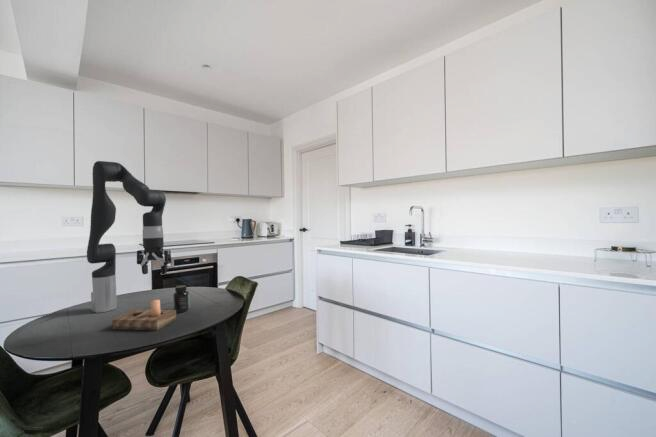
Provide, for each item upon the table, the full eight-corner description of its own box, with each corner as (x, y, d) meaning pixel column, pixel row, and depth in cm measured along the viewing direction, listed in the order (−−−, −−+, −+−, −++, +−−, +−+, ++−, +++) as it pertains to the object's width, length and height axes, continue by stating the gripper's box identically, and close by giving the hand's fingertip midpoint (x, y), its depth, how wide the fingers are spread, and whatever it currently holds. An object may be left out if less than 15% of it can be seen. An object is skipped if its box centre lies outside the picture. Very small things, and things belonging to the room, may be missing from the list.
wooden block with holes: (112, 329, 116) (112, 319, 116) (135, 318, 128) (135, 309, 127) (157, 330, 114) (157, 320, 114) (176, 318, 126) (175, 309, 125)
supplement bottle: (192, 308, 139) (191, 284, 139) (184, 313, 132) (183, 288, 132) (179, 308, 140) (178, 284, 139) (170, 313, 133) (169, 288, 133)
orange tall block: (149, 323, 118) (148, 302, 118) (155, 319, 122) (154, 299, 122) (157, 323, 118) (156, 302, 118) (162, 319, 122) (161, 299, 121)
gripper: (130, 237, 116) (132, 276, 117) (162, 237, 115) (164, 276, 115) (144, 236, 124) (145, 272, 124) (174, 235, 122) (175, 272, 123)
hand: (154, 274), depth 120 cm, fingers open, 8 cm apart
